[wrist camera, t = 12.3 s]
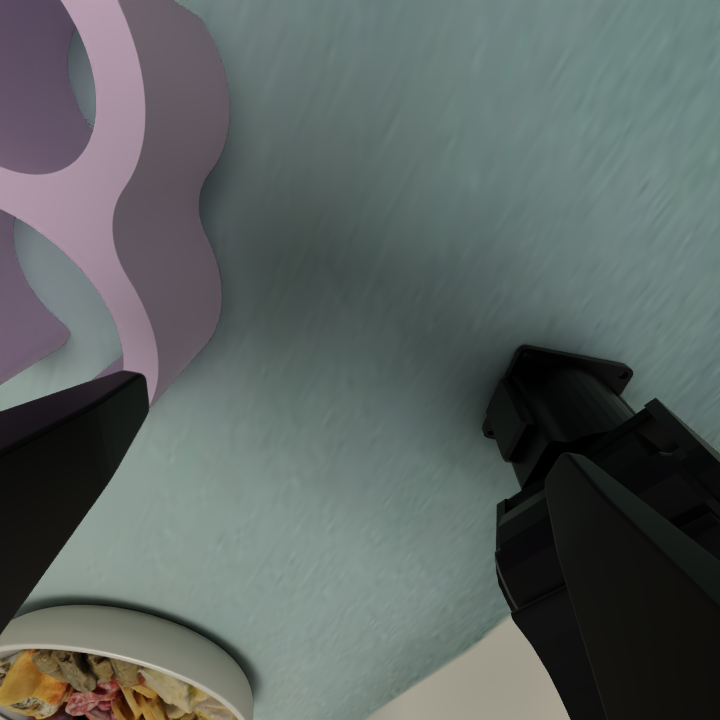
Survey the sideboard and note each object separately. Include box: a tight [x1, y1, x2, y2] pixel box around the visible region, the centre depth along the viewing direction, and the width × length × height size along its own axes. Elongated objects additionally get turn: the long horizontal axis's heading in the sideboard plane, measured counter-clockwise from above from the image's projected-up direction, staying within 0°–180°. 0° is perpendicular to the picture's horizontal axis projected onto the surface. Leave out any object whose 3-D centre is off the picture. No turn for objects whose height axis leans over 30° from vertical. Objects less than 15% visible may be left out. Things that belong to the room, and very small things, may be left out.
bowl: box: [0, 605, 253, 720], centre depth 42 cm, size 30×30×8 cm
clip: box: [0, 0, 230, 409], centre depth 17 cm, size 20×12×7 cm, turn 154°
